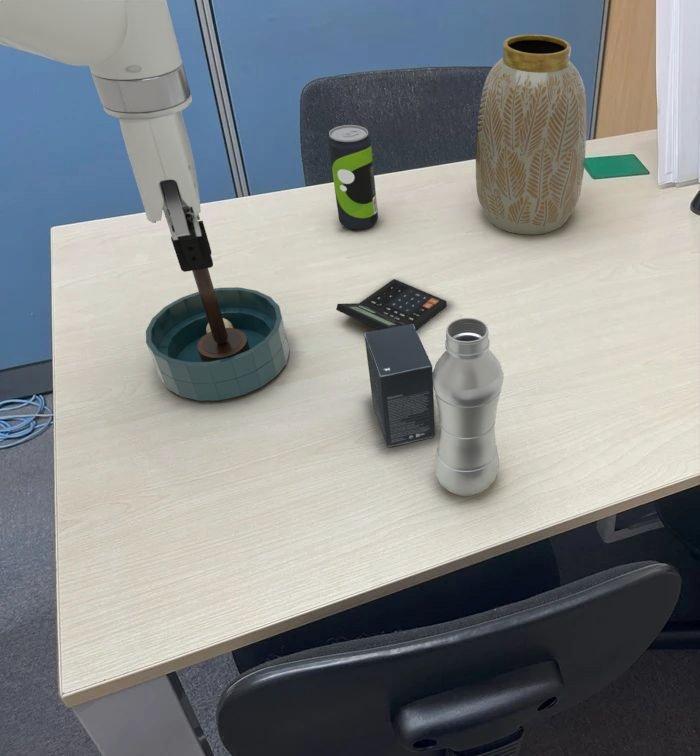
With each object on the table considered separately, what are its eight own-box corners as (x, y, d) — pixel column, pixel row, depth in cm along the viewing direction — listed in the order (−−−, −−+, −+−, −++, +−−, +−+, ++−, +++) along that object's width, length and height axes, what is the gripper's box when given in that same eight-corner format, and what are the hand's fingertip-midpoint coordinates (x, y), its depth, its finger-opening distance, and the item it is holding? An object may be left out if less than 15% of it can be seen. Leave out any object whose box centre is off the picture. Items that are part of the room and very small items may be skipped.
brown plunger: (204, 378, 82) (154, 233, 69) (201, 349, 85) (153, 206, 73) (253, 367, 83) (214, 224, 71) (248, 339, 87) (210, 199, 74)
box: (436, 437, 79) (433, 365, 72) (386, 449, 77) (378, 377, 70) (418, 392, 84) (413, 321, 77) (371, 402, 83) (362, 331, 76)
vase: (582, 243, 111) (603, 66, 94) (473, 240, 111) (474, 61, 93) (574, 192, 124) (591, 28, 106) (476, 189, 124) (478, 24, 106)
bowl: (162, 417, 80) (146, 377, 76) (159, 338, 90) (145, 300, 86) (298, 387, 84) (289, 348, 80) (280, 315, 95) (272, 278, 91)
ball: (210, 350, 88) (204, 330, 86) (208, 335, 90) (202, 315, 88) (237, 345, 89) (231, 325, 87) (234, 330, 91) (229, 310, 89)
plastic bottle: (429, 464, 76) (420, 314, 63) (489, 451, 77) (493, 303, 64) (443, 510, 71) (437, 359, 58) (506, 496, 73) (515, 346, 60)
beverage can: (361, 209, 117) (351, 120, 107) (386, 222, 114) (378, 132, 104) (331, 223, 114) (318, 132, 104) (356, 236, 111) (345, 144, 101)
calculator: (446, 306, 98) (446, 288, 96) (392, 349, 90) (390, 330, 88) (394, 283, 101) (392, 266, 99) (338, 323, 94) (335, 305, 92)
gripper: (101, 63, 67) (158, 232, 80) (94, 125, 57) (161, 310, 69) (184, 56, 70) (227, 222, 82) (192, 115, 59) (241, 296, 71)
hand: (196, 261), depth 75 cm, fingers closed on brown plunger
